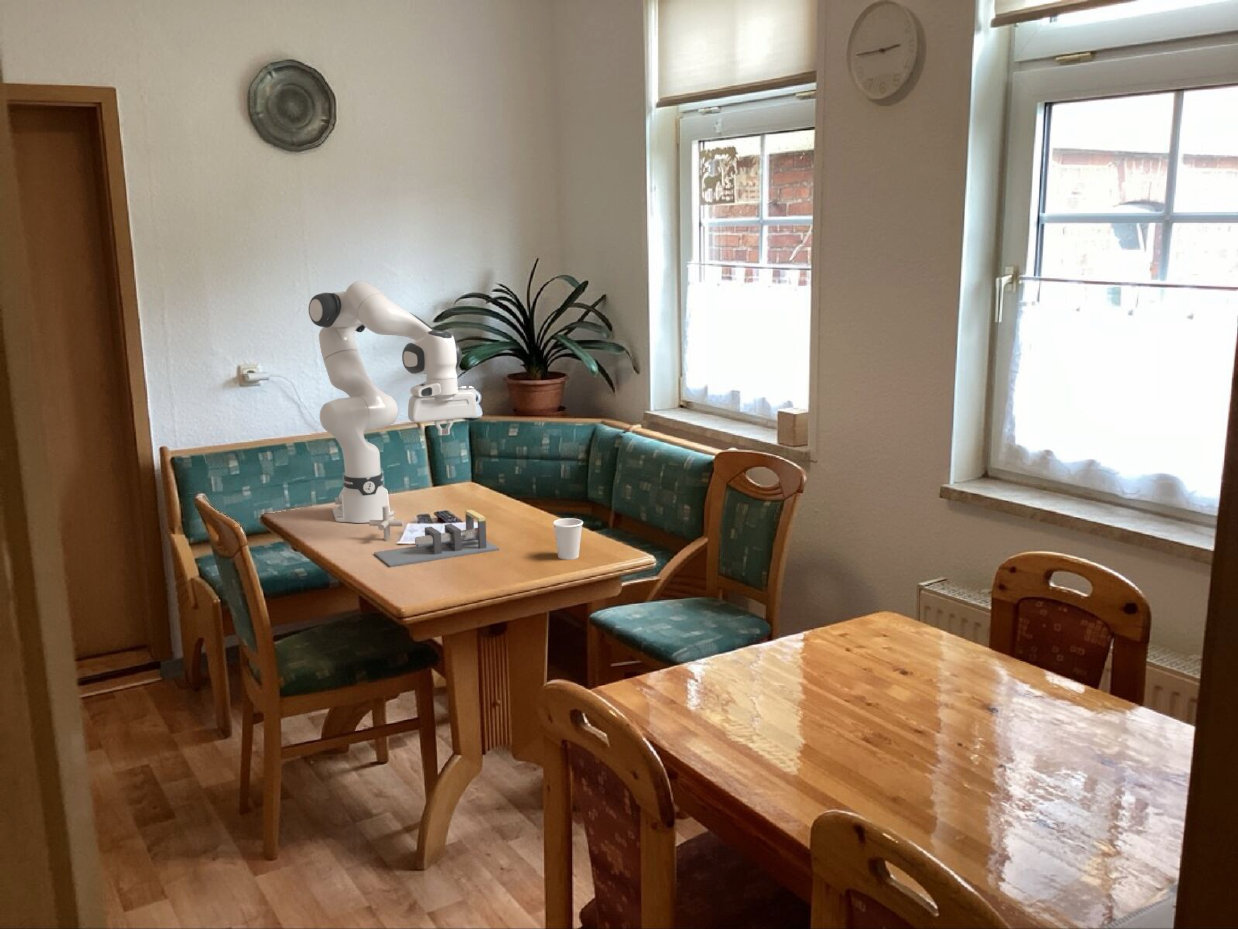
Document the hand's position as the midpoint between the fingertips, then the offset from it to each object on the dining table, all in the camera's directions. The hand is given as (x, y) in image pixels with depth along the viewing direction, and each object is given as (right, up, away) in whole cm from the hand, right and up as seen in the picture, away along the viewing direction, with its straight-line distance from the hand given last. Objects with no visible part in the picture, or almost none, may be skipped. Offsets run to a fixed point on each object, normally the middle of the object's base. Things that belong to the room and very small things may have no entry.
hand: (444, 434), depth 310 cm
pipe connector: (-18, -31, +6) cm, 36 cm away
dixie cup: (+37, -35, -12) cm, 52 cm away
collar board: (-1, -33, -8) cm, 34 cm away
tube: (+3, -31, -6) cm, 32 cm away
